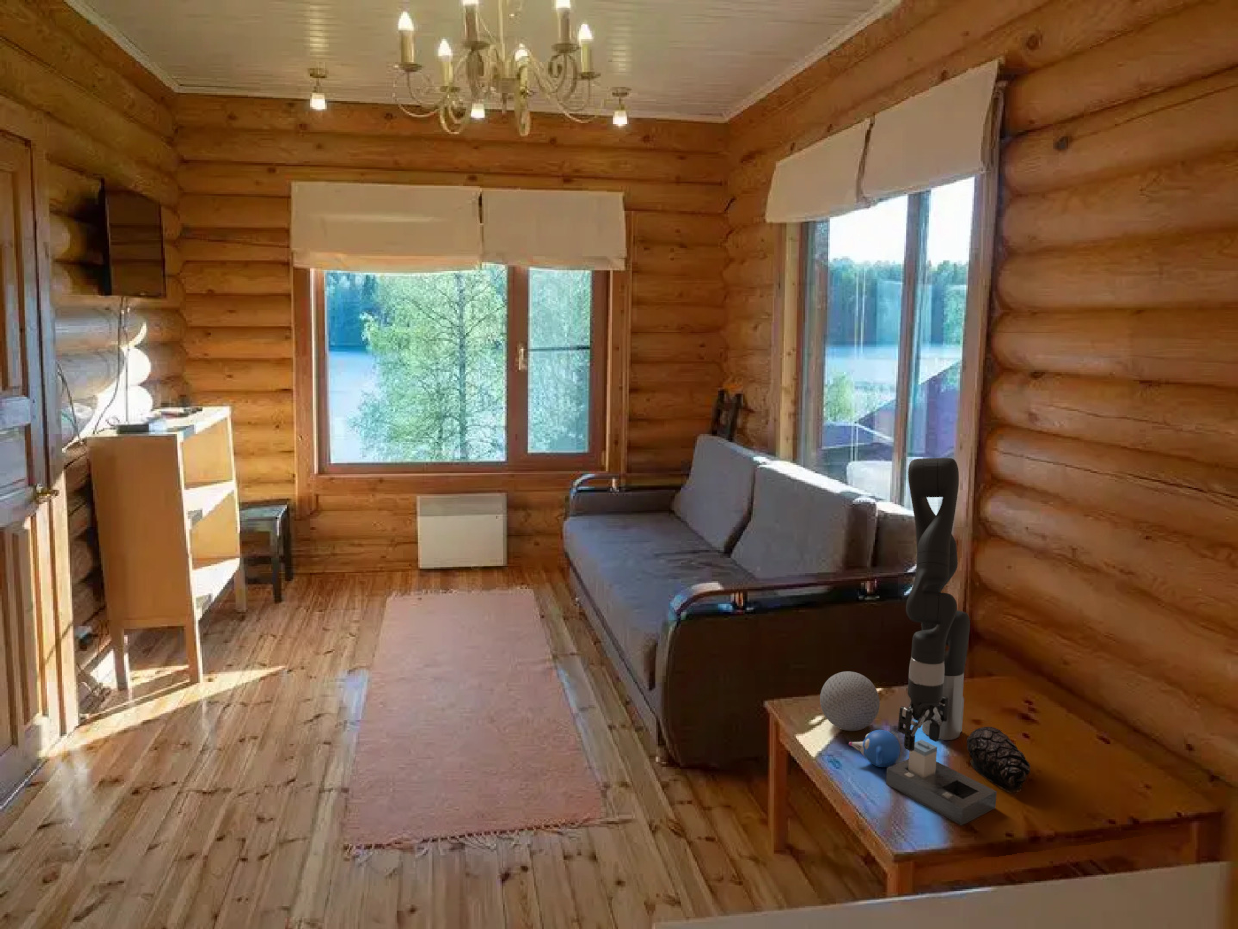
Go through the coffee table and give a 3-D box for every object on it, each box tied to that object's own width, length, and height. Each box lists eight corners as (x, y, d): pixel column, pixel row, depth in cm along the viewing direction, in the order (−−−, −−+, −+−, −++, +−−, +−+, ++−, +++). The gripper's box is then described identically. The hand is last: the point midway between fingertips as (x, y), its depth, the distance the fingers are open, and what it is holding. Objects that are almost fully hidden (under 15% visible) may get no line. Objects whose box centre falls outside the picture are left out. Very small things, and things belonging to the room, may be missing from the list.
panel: (919, 769, 212) (920, 752, 211) (995, 808, 195) (996, 790, 194) (886, 784, 205) (886, 767, 204) (961, 825, 189) (962, 807, 188)
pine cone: (1010, 799, 199) (1013, 757, 197) (956, 761, 216) (959, 722, 214) (1046, 790, 202) (1050, 750, 200) (991, 754, 219) (994, 716, 217)
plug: (919, 779, 207) (921, 737, 205) (934, 787, 204) (937, 744, 202) (907, 784, 205) (909, 742, 203) (922, 793, 201) (925, 749, 199)
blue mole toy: (849, 748, 222) (851, 716, 220) (899, 755, 218) (901, 723, 217) (846, 772, 210) (847, 739, 209) (898, 780, 207) (900, 746, 205)
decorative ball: (881, 744, 224) (884, 688, 221) (820, 739, 226) (822, 683, 224) (875, 717, 238) (877, 664, 236) (817, 712, 241) (820, 660, 238)
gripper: (932, 665, 207) (928, 730, 209) (891, 678, 199) (887, 746, 202) (960, 676, 200) (955, 743, 203) (919, 690, 193) (914, 760, 195)
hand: (921, 744), depth 202 cm, fingers open, 8 cm apart
